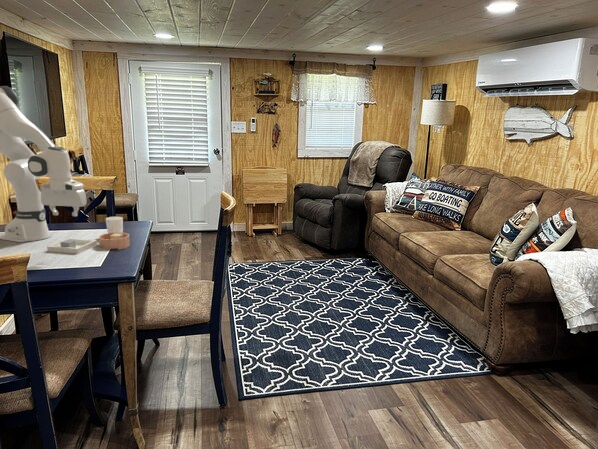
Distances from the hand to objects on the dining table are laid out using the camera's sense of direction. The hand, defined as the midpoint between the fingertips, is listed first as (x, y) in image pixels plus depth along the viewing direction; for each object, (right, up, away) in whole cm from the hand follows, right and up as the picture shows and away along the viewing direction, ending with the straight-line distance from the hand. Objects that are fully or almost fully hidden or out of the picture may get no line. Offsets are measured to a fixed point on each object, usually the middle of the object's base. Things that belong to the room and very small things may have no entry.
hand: (65, 215), depth 199 cm
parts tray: (0, -15, +7) cm, 17 cm away
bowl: (+16, -14, +14) cm, 26 cm away
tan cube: (+17, -13, +16) cm, 26 cm away
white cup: (+11, -11, +28) cm, 32 cm away
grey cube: (-1, -15, +4) cm, 16 cm away
